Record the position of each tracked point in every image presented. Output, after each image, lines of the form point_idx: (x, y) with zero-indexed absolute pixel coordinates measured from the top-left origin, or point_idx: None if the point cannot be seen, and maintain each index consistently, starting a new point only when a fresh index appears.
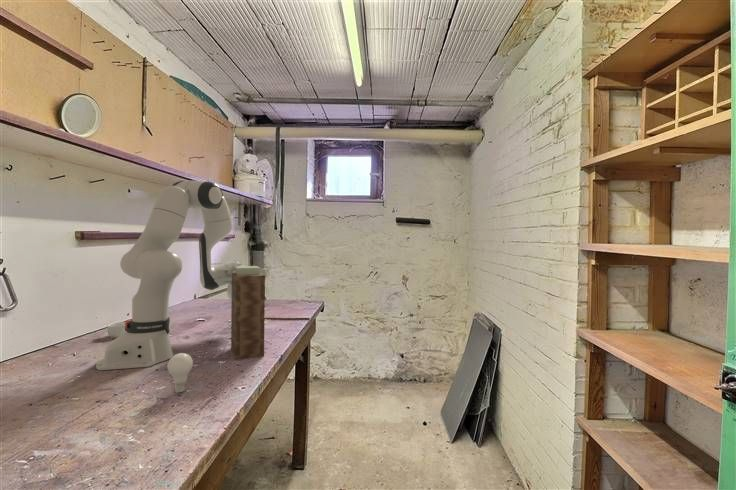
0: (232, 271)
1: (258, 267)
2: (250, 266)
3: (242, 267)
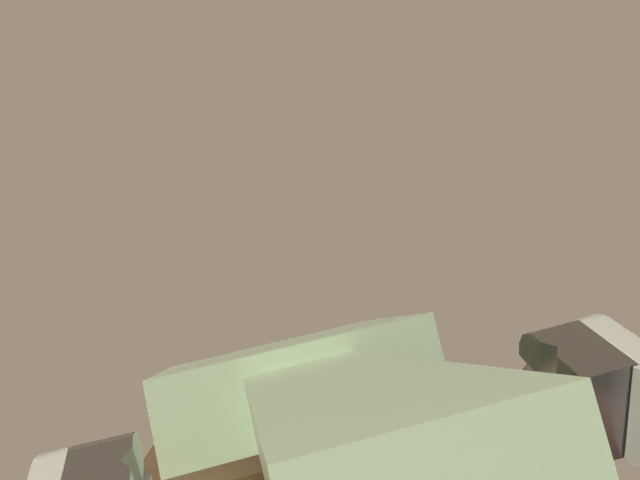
0: (615, 442)
1: (181, 365)
2: (240, 355)
3: (332, 330)
